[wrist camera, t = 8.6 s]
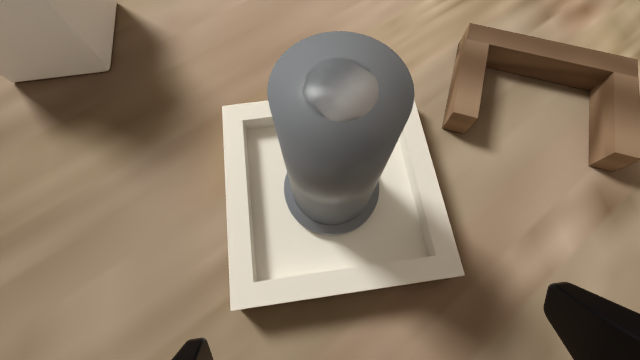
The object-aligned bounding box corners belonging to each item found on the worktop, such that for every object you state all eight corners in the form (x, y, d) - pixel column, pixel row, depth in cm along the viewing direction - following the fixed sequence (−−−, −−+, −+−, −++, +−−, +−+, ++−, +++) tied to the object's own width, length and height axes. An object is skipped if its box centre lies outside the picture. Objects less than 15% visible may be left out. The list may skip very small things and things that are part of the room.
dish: (450, 277, 18) (464, 275, 17) (240, 309, 18) (230, 310, 16) (402, 101, 23) (409, 83, 21) (230, 122, 22) (222, 106, 20)
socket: (613, 171, 21) (642, 158, 19) (442, 128, 22) (453, 112, 20) (611, 79, 23) (637, 59, 21) (458, 44, 24) (469, 23, 23)
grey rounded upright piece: (396, 202, 19) (468, 110, 10) (317, 254, 18) (313, 207, 9) (343, 132, 21) (361, -4, 11) (267, 177, 20) (220, 67, 10)
